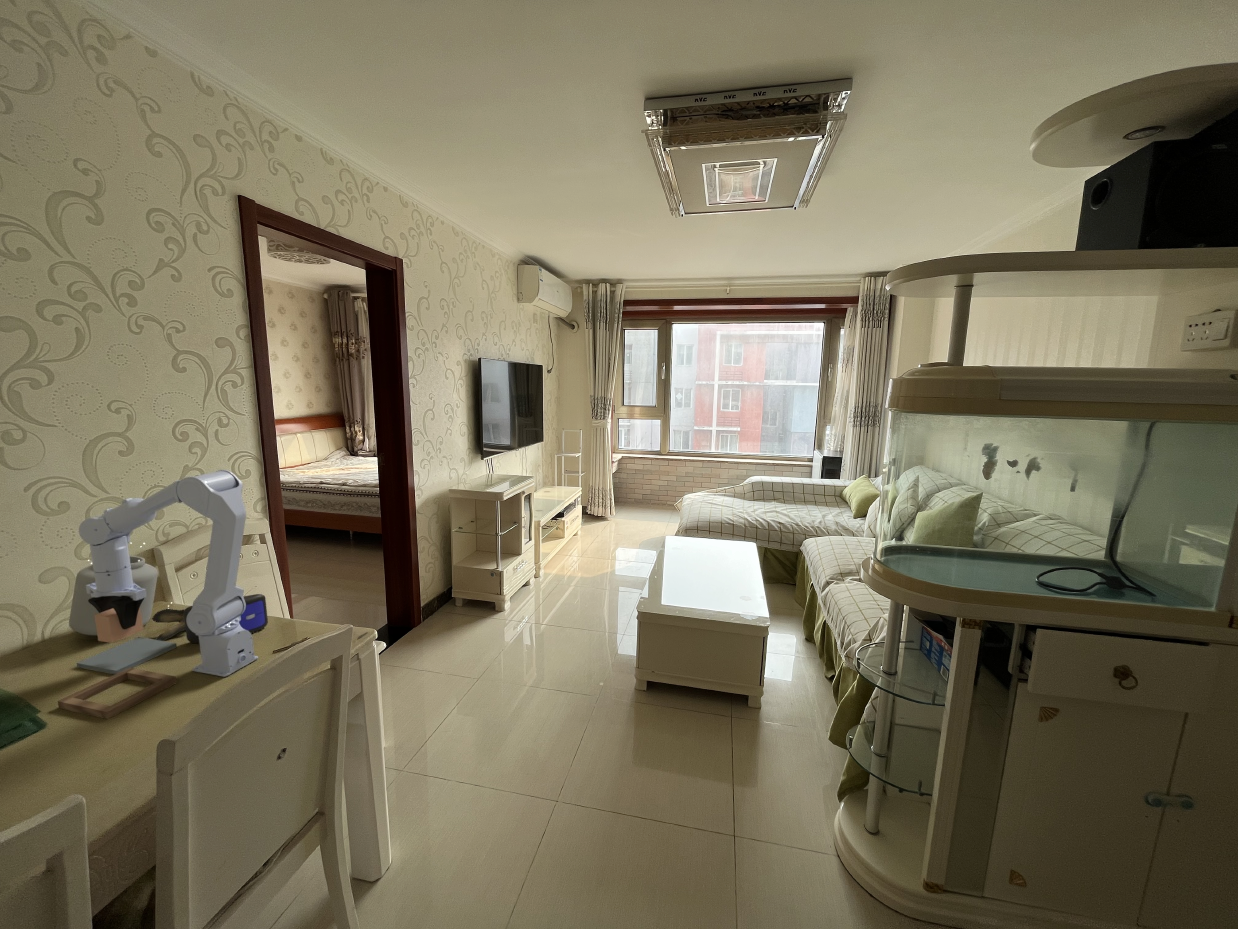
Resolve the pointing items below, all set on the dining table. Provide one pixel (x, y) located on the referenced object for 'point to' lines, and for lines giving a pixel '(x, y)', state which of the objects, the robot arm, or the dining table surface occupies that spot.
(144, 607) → the jar
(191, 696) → the dining table surface
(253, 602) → the dark rounded block
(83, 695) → the brown wooden frame
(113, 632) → the terracotta block
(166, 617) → the eagle figurine
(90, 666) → the mat
